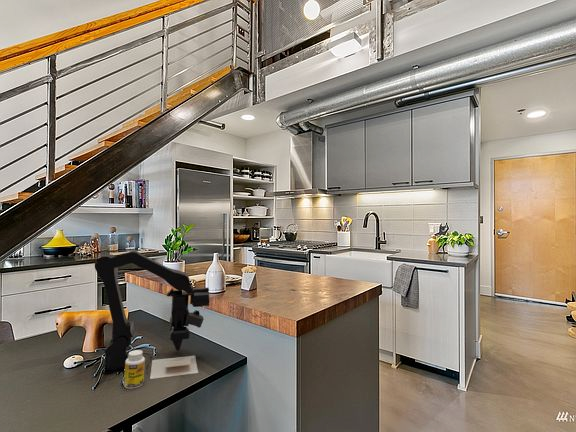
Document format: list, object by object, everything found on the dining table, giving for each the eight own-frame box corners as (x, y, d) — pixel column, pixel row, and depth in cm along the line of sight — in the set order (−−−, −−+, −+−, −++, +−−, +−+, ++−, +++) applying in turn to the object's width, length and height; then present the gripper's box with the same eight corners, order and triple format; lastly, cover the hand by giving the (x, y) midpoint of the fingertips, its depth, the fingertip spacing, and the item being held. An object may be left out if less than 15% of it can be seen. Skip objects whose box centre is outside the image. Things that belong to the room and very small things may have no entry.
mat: (150, 380, 101) (150, 378, 101) (152, 361, 114) (152, 360, 114) (198, 373, 106) (198, 372, 106) (195, 356, 119) (195, 355, 119)
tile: (165, 365, 111) (165, 367, 104) (165, 359, 112) (165, 362, 105) (188, 362, 114) (190, 364, 107) (189, 357, 114) (190, 359, 107)
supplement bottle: (124, 391, 94) (126, 357, 94) (122, 383, 98) (124, 350, 98) (145, 387, 97) (146, 354, 97) (142, 379, 101) (143, 347, 101)
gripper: (205, 313, 108) (203, 358, 108) (200, 299, 126) (198, 338, 125) (171, 315, 104) (168, 362, 104) (170, 301, 122) (168, 341, 121)
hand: (177, 350), depth 114 cm, fingers closed
